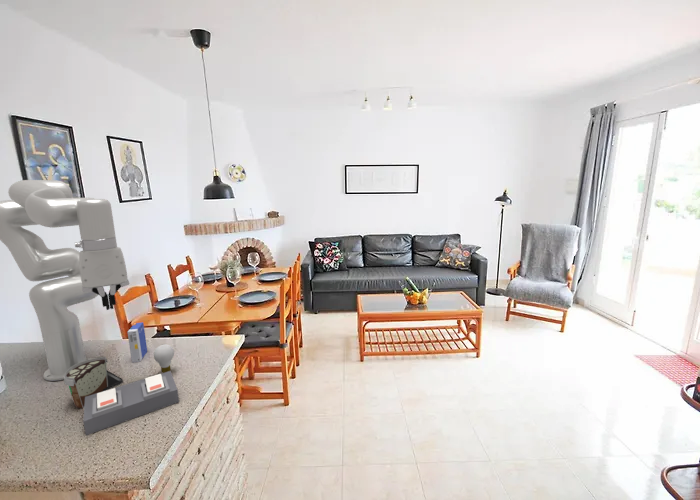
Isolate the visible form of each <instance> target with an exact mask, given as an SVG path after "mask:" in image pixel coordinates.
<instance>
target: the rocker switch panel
mask: <svg viewBox="0 0 700 500" xmlns="http://www.w3.org/2000/svg"><path fill="white" fill-rule="evenodd" d="M160 374H161V376H162V380H163V383H164V388H165V389H162V390H159V391H156V392H153V393H150V394H148V392H147V387H146V382H145V378H143V379H138V380H135V381H133V382H129V383H126V384H123V385H120V386H119V385H118V386H115V387H114V388H115V389H116V398H117V405H114V406H111V407H108V408H105V409H102V410H99V411H98V408H97V393H96V394H93V395H90V396H86V397H85V404H84V408H83V420H82V421H83V426H84V432H85V436H88V435H91V434H94V433H96V432H100V431H103V430H105V429H107V428H111V427H113V426H116V425H118V424H122V423H124V422H127V421H130V420H132V419H135V418H139V417H140V416H141V417H142V416H144V415H146V414H149V413H153V412H154V411H158V410H161V409H163V408H165V407H169V406H171V405H174V404H177V403H180V398H179V391H178V390H179V389H178V387H177V384H176V381H175V379H174V376H173V373H172V371H171V370H170V371H168V372H165V373H162V372H161V373H160ZM108 389H109V388H108ZM109 390H110V389H109ZM99 393H100V392H99Z"/></svg>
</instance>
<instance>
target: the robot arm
mask: <svg viewBox="0 0 700 500" xmlns="http://www.w3.org/2000/svg"><path fill="white" fill-rule="evenodd" d="M7 193H8V196H9V198H10V199H6V200H0V241H1V243H3V245H5V246H6V247H7V249H8V251H9V252H10V254H11V255H12V257H13V259H14V261H15V263H16V264H17V266H18V269H19V270H20V272H21V273H22V275H23V276H24V277H25V279H26V280H28V281H30V282H40V283H37V284H35V285H33V287H31V289H30V290H29V293H28V296H29V300H30V303H31V305H32V308H33V309H34V311H35V314H36V317H37V320H38V323H39V329H40V333H41V338H42V342H43V343H42V344H43V347H44V351H45V356H46V360H47V361H46V362H47V365H48V368H47V369H45V371H44V373H43V379H44V380H46V381H49V382H54V381H64V376H65V373H66V371H67V370H68V369H69V368H71V367H72V366H74V365H76V364H78V363H80V362H83V361H86V360H89V359H90V358H88V357H86V351H85V347H84V341H83V337H82V336H83V335H82V330H81V324H80V319H79V317H78V315H77V314H76V313H74V312H72V311H71V310H69V309H68V307H71V306H74V305H77V304H80V303H84V302H88V301H90V300H93V299H96V298H97V297H98V296H99V297H100V298H101V303H102V307H103V308H106V311H108V310H113V309H114V306H116V305H117V304H116V303H117V302H116V296H115V294H116V293H117V292H118V291H119V290H120V289H121V288H124V287H126V286H129V285H130V281H129V279H128V271H127V267H126V261H125V257H124V254H123V250H122V249H121V247H119V246H118V243H117V237H116V230H115V224H114V222H115V221H114V217H113V210H112V204H111V202H110V201H109V200H108V199H105V198H94V197H74V195H73V191H72V188H71V187H70V186H69V185H68V184H67V183H66V182H64V181H62V180H56V179H53V180H52V179H44V180H43V179H24V180H23V179H22V180H19V181H16V182H14V183H12V184H11V185H10V186H9V188H8V192H7ZM37 225H39V226H43V227H45V228H52V229H53V228H64V227H73V226H74V227H75V226H78V229H79V235H80V240H79V241H78V242H74V247H75V248H80V249H82V250H80V251H79V250H77V249H75V248H73V247H64V248H56V249H50V248H48V247H47V245H46V243H45V242H44V240H43V238H42V237H41V236H40V235H37V234H35V233H34V232H33V231H31V230H28V229H25V228H23V227H25V226H37ZM104 287H109V291H108V293H107V292H106V290H105V289H104Z"/></svg>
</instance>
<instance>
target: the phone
mask: <svg viewBox="0 0 700 500" xmlns="http://www.w3.org/2000/svg"><path fill="white" fill-rule="evenodd" d="M107 379H108V387H106V388H105V389H103V391H106V390H109V389H113V388H116V387H118V386H119V385H121V384H123V382H124V381H123V378H122V377H120V376H118V375H116V374H114V373H113V372H110V371H109V370H107Z"/></svg>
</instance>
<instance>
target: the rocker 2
mask: <svg viewBox="0 0 700 500" xmlns="http://www.w3.org/2000/svg"><path fill="white" fill-rule="evenodd" d="M161 374H162V373H159V374H158V373H157V374H155V375H151V376H148V377H145V378H144V379H145V382H146V387H147V392H148V394H150V393H153V392H156V391H159V390H162V389H165V388H164V383H163V380H162V376H161Z"/></svg>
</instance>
